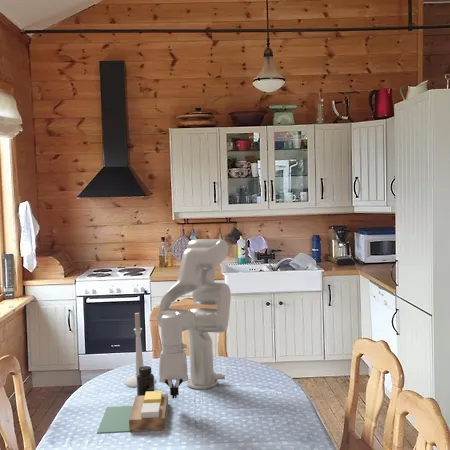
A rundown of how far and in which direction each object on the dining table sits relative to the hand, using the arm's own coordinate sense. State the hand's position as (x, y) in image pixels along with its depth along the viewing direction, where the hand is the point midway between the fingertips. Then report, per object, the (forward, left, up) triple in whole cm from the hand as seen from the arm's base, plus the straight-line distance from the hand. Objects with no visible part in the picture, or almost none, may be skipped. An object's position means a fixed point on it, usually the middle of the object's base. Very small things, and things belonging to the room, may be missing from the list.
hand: (174, 396), depth 215 cm
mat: (+20, +5, -5) cm, 21 cm away
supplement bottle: (+12, -14, -5) cm, 19 cm away
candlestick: (+16, -32, -5) cm, 36 cm away
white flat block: (+8, +11, -1) cm, 14 cm away
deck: (+9, +5, -5) cm, 11 cm away
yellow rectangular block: (+8, 0, -1) cm, 8 cm away
